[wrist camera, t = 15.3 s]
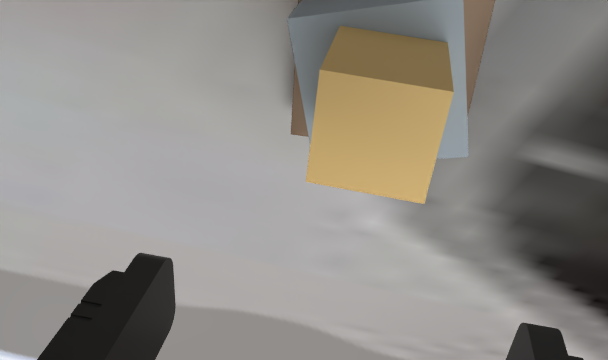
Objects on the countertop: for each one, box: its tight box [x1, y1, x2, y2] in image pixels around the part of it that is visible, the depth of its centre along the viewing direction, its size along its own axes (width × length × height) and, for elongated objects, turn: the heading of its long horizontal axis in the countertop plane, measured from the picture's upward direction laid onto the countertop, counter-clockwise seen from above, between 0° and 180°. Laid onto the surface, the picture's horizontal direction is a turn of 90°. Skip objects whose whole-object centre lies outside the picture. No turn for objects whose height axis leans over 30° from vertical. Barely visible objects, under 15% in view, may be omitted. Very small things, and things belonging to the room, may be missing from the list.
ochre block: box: [306, 26, 454, 204], centre depth 24 cm, size 5×5×6 cm
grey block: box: [287, 0, 469, 159], centre depth 29 cm, size 8×8×4 cm
